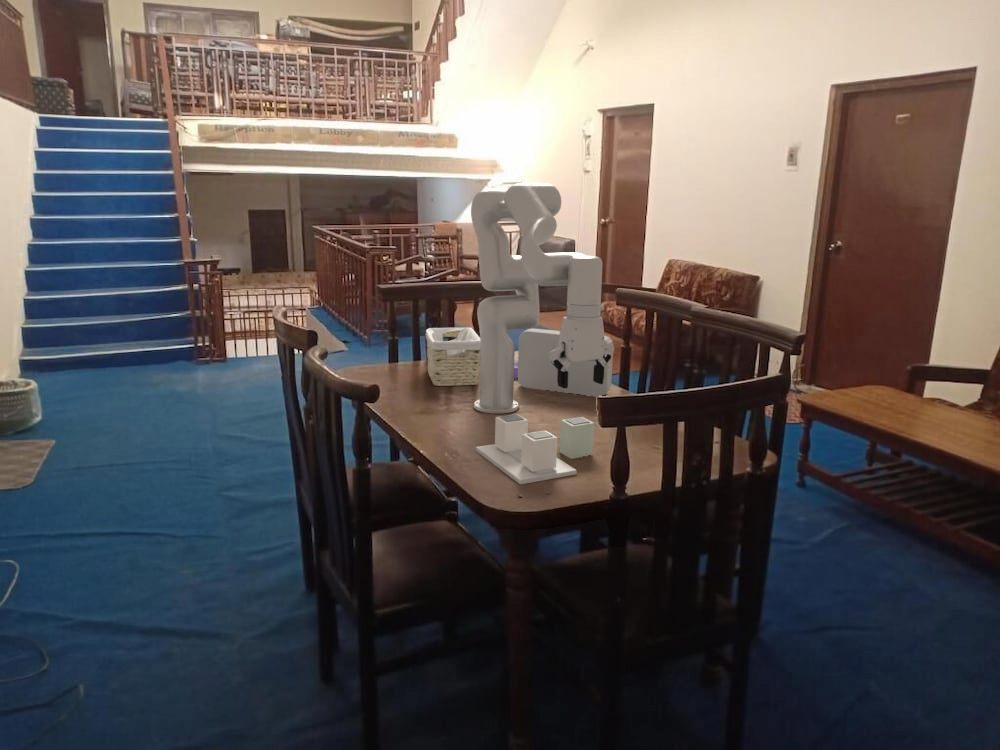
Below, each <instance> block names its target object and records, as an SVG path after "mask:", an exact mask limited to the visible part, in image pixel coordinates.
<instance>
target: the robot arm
mask: <svg viewBox="0 0 1000 750" xmlns="http://www.w3.org/2000/svg"><path fill="white" fill-rule="evenodd" d="M561 208H562V196H561V193H560V191H559V190H558V188H557V187H556V186H554V185H553V184H551V183H548V182H547V183H546V182H519V183H515V184H512V185H511V186H510V187H508V188H487V189H483V190H480V191H478V192H477V193H476V194H475V195H474V196H473V199H472V202H471V205H470V216H471V222H472V226H473V229H474V232H475V236H476V240H477V250H478V261H479V262H478V265H479V276H480V283H481V286H482V287H483V288H484V290H486V291H489V292H507V291H508V292H510V291H515V295H496V296H495V295H494V296H490V297H485V298H484V299H483V300H481V301H480V302H479V304H478V306H477V309H476V310H477V311H476V312H477V313H476V315H477V322H478V328H479V337H480V366H479V389H478V391H477V392H478V393H479V399H477V400H475V401H474V403H473V407H474V409H475V410H477V411H479V412H482V413H485V414H486V413H487V414H496V415H497V414H498V415H499V414H500V415H501V414H508V413H513V412H516V411H518V410H519V406H520V405H519V403H518V401H516V400H514V390H515V389H514V388H515V386H514V383H515V378H514V361H515V351H516V350H515V344H514V342H513V339H512V338H511V337H510V336H509V333H508V332H509V331H517V330H528V329H532V328H534V327H535V326H536V325H537V324H538V322H539V319H540V295H539V292H540V291H539V286H542V287H559V286H567V294H566V316H563V317H562V321H561V325H560V329H559V331H560V335H559V344H558V346H557V347H555V348H554V349H552V350H551V351H549V352H548V355H549V358H550V360H551V363H552V364H553V365H554V366H555V368H556V369H558V375H557V382H558V386H560V387H562V388H564V389H566V388H567V387H568V371H566V369H567V368H568V366H569V365H570V364H571V362H584V361H593V360H594V361H595V363H596V365H594V373H593V381H594V382H596V383H599V384H603V379H604V367H606V366H607V363H608V361H609V360H610V359H611V355H612V354H613V355H614V351H615V345H613V346H612V345H610V344H608V343H606V342H604V336H605V328H604V320H603V318H602V316H601V312H602V311H605V306H604V304H602V303H601V300H602V284H603V278H602V277H603V260H602V258H601V257H599V256H596V255H586V254H585V253H582V252H576V251H575V252H573V251H572V252H544V251H543V250H542V249H541V247H540V246H542V245H543V244H545V243H546V242H548V241H549V240H550V239H551V238H552V237H553V236H554V235H555V233H556V231H557V227H558V224H557V223H558V222H557V220H556V218H555V217H556V215H558V214H559V212H560V210H561ZM499 222H500V223H501V222H514V223H516V225H517V227H518V228H519V230H520V232H521V233H522V235H523V236H522V239H521V241H520V249H519V254H520V255H519V254H517V255H512V254H511V252H510V251H511V250H510V239H509V236H508V234H507V232H506V230H504V228H503V227H502V226H501V225H500V224H499ZM604 348H605V349H606V351H605V354H604ZM557 355H558V357H559V358H560V360H558V359H557Z"/></svg>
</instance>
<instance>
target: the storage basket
mask: <svg viewBox="0 0 1000 750" xmlns="http://www.w3.org/2000/svg"><path fill="white" fill-rule="evenodd" d="M444 337H448V338H450V337H451V338H454V339H451V340H449V341H447V340H446V341H444ZM425 339H426V356H427V357H426V359H427V373H428V376H429V378H430V380H431V382H432V385H433V386H438V387H441V386H443V387H450V386H451V387H453V386H457V387H460V386H474V385H475V386H476V385H478V383H479V377H480V335H478V333H476V331H475V330H474V329H473V328H472V327H429V328H427V329H426V330H425Z"/></svg>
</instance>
